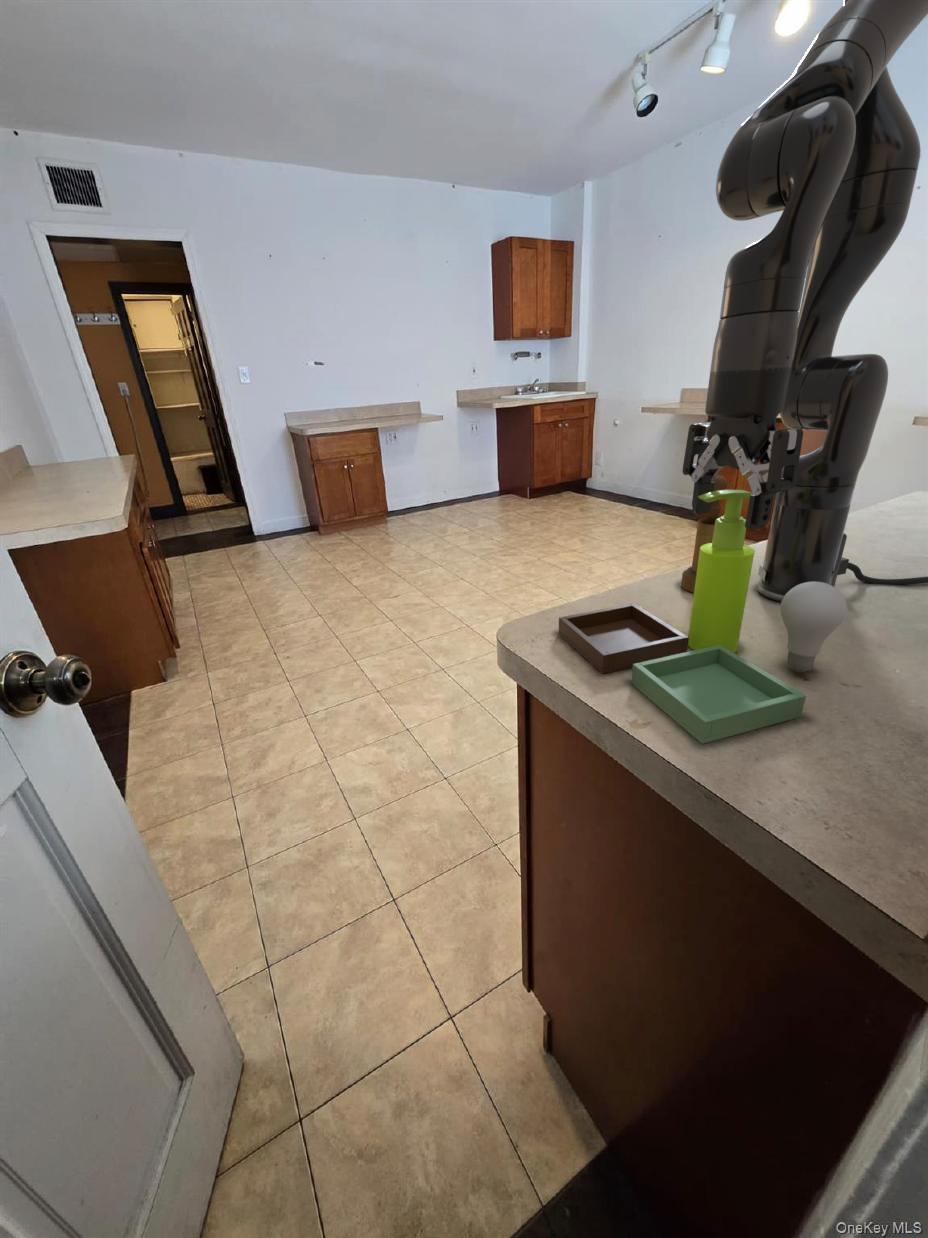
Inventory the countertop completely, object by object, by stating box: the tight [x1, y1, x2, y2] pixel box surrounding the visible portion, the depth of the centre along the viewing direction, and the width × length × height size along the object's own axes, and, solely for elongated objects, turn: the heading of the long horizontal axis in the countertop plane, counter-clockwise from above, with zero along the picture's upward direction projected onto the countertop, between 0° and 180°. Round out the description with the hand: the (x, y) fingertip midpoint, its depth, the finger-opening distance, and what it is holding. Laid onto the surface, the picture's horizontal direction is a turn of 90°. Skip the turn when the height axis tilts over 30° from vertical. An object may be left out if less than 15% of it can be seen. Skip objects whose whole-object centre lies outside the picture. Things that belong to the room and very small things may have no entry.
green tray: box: [631, 645, 807, 744], centre depth 56 cm, size 12×12×3 cm
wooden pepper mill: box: [680, 475, 728, 594], centre depth 81 cm, size 7×6×18 cm
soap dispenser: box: [687, 489, 756, 654], centre depth 63 cm, size 6×7×20 cm
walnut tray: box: [558, 602, 689, 675], centre depth 68 cm, size 12×12×3 cm
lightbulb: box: [780, 582, 848, 673], centre depth 58 cm, size 6×6×11 cm
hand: (726, 520), depth 60 cm, fingers open, 8 cm apart
